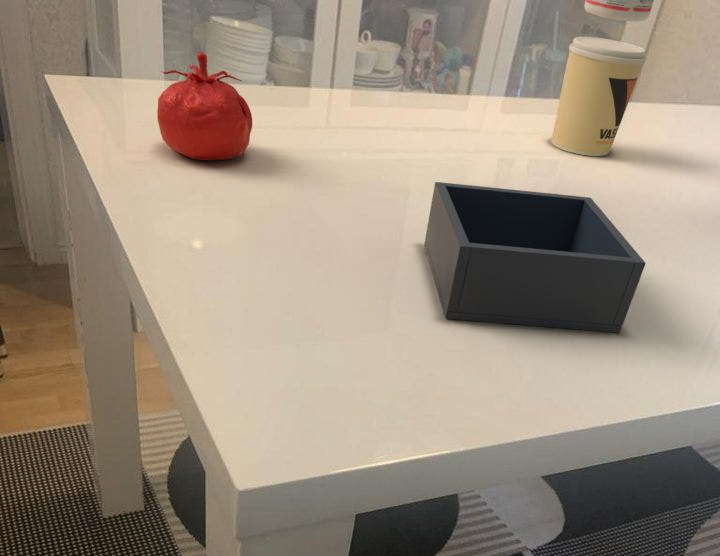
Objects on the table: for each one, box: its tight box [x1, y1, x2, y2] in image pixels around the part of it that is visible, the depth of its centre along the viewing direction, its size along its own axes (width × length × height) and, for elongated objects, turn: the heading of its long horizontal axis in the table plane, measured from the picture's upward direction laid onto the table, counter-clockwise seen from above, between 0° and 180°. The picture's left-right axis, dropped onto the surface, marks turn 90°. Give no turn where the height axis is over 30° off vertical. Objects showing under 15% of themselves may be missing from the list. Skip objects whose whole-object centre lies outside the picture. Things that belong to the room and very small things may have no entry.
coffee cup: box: [551, 36, 647, 157], centre depth 94 cm, size 9×9×12 cm
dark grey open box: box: [423, 181, 646, 333], centre depth 59 cm, size 14×14×6 cm
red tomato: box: [156, 51, 253, 161], centre depth 75 cm, size 10×10×9 cm
